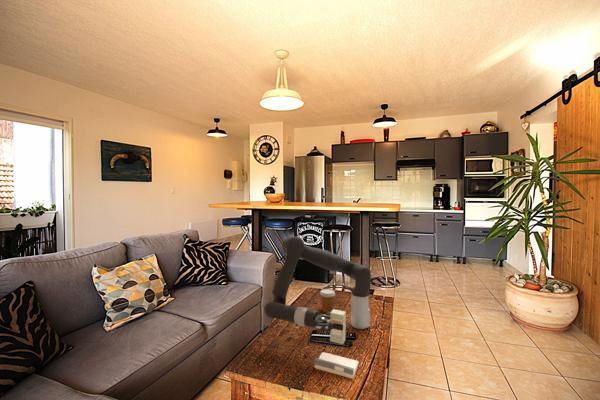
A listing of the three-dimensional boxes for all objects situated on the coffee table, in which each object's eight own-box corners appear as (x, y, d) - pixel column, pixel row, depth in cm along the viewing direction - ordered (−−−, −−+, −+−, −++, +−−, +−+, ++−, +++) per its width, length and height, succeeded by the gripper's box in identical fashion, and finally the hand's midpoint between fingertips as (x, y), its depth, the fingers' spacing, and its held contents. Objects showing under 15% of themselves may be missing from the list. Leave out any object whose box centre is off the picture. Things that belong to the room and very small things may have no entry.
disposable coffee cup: (330, 315, 165) (331, 295, 165) (316, 311, 170) (317, 291, 170) (337, 309, 173) (337, 290, 173) (323, 306, 178) (324, 287, 178)
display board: (322, 355, 123) (322, 347, 123) (358, 364, 117) (358, 356, 117) (314, 368, 114) (314, 359, 114) (352, 379, 108) (352, 370, 108)
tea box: (332, 336, 119) (333, 309, 119) (345, 339, 117) (345, 311, 117) (329, 341, 116) (330, 312, 115) (342, 344, 113) (343, 315, 113)
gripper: (300, 315, 116) (339, 323, 109) (312, 303, 129) (349, 310, 121) (299, 332, 116) (339, 342, 109) (312, 319, 129) (348, 327, 122)
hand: (344, 325), depth 115 cm, fingers closed on tea box, 4 cm apart
